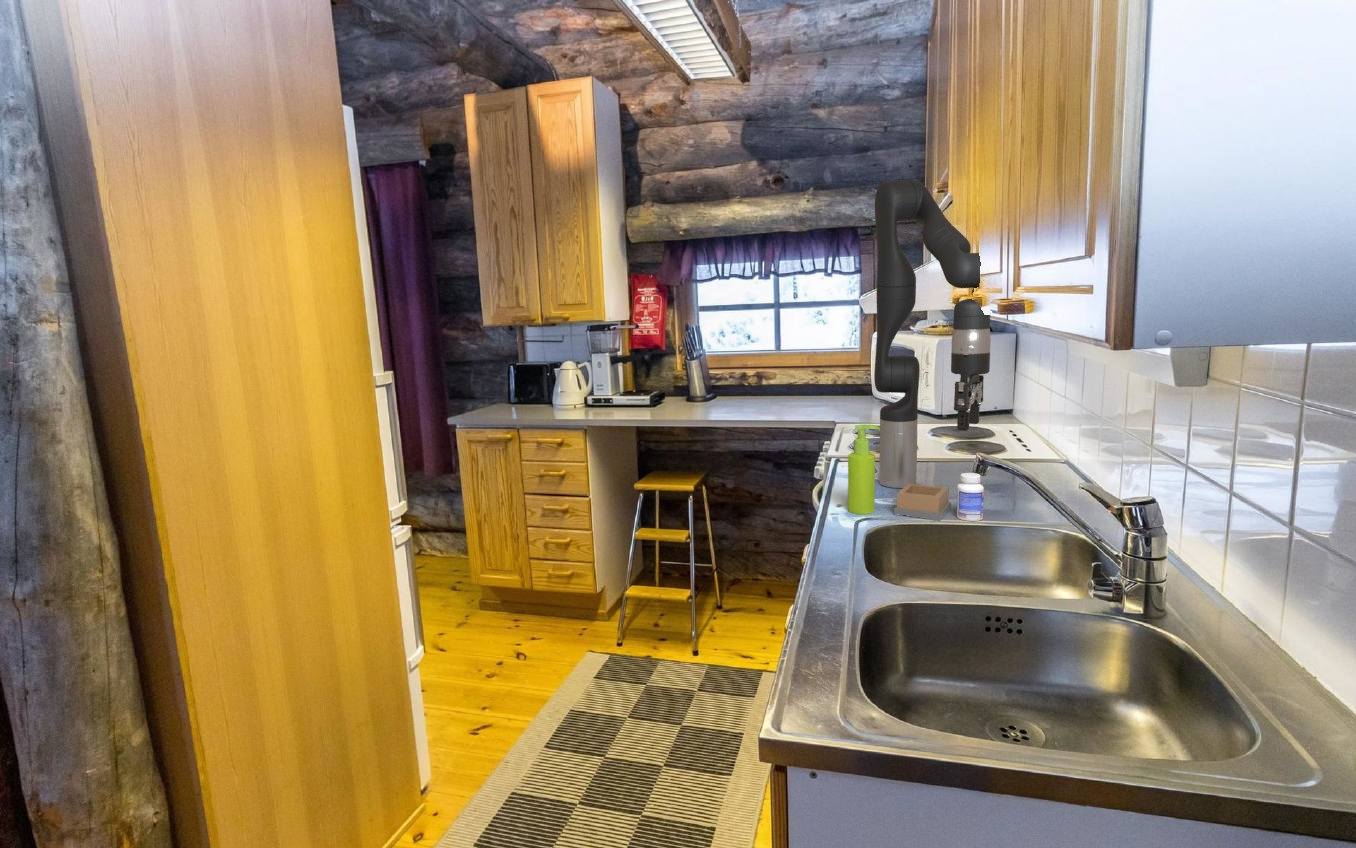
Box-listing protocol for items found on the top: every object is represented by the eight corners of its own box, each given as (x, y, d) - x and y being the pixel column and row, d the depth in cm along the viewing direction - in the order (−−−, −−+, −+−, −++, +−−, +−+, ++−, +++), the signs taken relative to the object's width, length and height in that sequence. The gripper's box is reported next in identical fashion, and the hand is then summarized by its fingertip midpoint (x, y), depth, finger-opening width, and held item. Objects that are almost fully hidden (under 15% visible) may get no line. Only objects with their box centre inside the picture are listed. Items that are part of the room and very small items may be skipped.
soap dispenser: (880, 514, 157) (880, 427, 154) (848, 514, 159) (848, 427, 155) (878, 507, 163) (878, 422, 159) (847, 506, 164) (847, 423, 161)
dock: (906, 503, 165) (907, 482, 164) (951, 508, 159) (951, 487, 158) (893, 514, 157) (894, 493, 156) (940, 521, 151) (940, 498, 150)
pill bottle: (987, 521, 150) (989, 477, 148) (962, 522, 150) (963, 478, 148) (976, 513, 155) (977, 471, 153) (952, 514, 155) (953, 472, 153)
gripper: (960, 348, 154) (958, 420, 157) (942, 353, 142) (940, 431, 145) (997, 348, 149) (994, 422, 152) (981, 353, 138) (978, 434, 141)
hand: (968, 426), depth 149 cm, fingers open, 8 cm apart
